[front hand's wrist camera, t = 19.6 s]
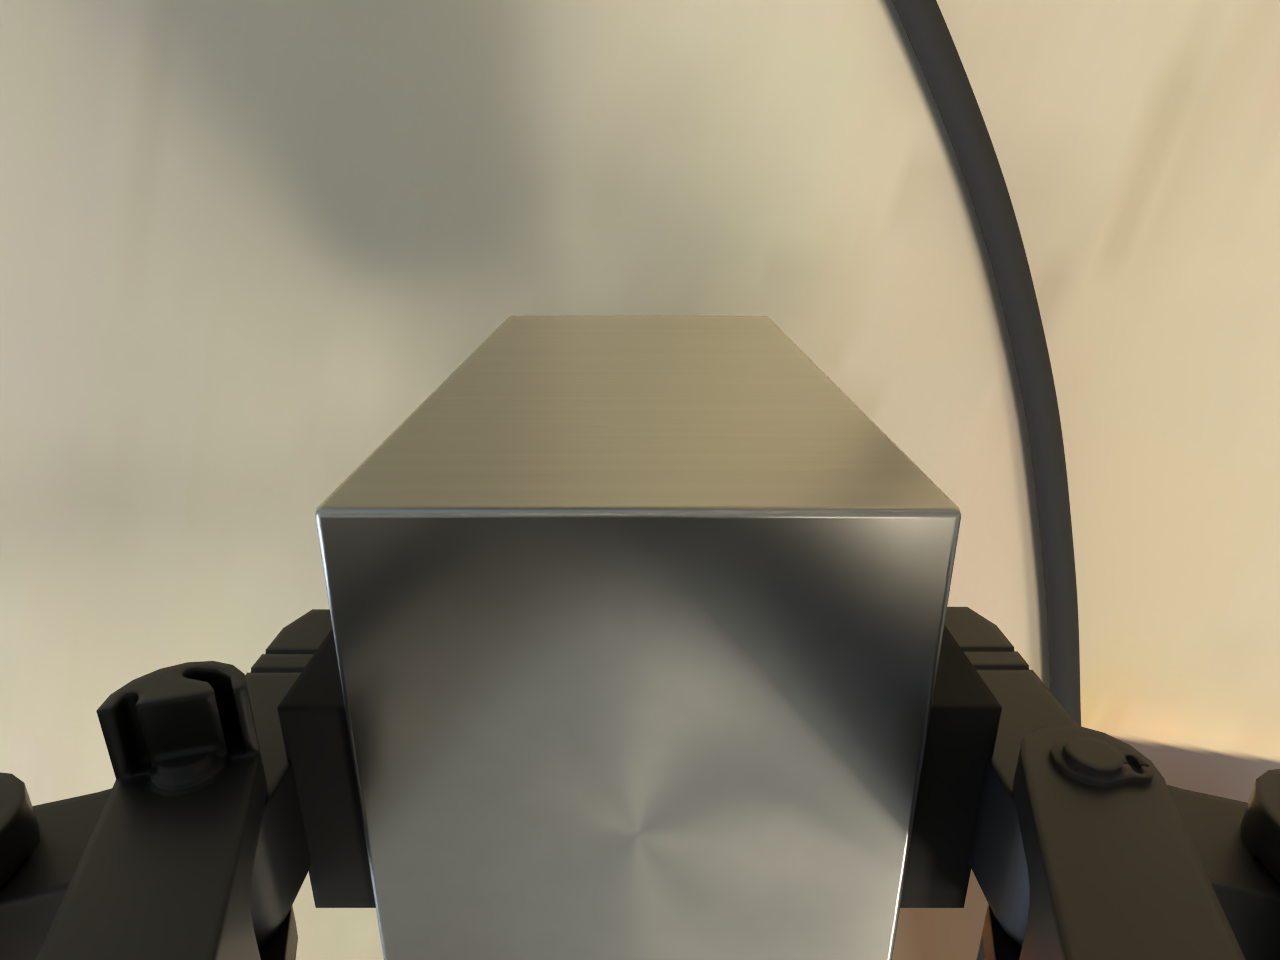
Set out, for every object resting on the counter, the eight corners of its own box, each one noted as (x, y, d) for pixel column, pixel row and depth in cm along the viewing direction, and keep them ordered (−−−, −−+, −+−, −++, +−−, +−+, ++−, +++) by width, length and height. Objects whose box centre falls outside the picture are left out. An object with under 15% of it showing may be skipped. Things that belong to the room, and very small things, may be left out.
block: (768, 315, 18) (966, 509, 7) (752, 606, 20) (877, 1071, 10) (508, 314, 18) (309, 509, 7) (524, 606, 20) (397, 1070, 10)
